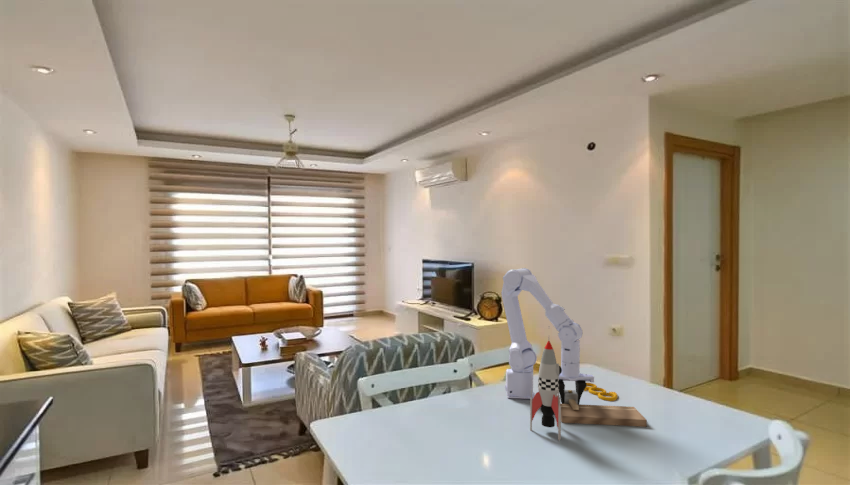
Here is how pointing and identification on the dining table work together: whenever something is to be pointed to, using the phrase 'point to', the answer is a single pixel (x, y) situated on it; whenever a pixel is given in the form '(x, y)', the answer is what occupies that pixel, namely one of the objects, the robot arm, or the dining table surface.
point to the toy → (547, 391)
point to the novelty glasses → (600, 394)
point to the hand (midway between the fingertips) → (569, 403)
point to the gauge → (571, 398)
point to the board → (602, 415)
